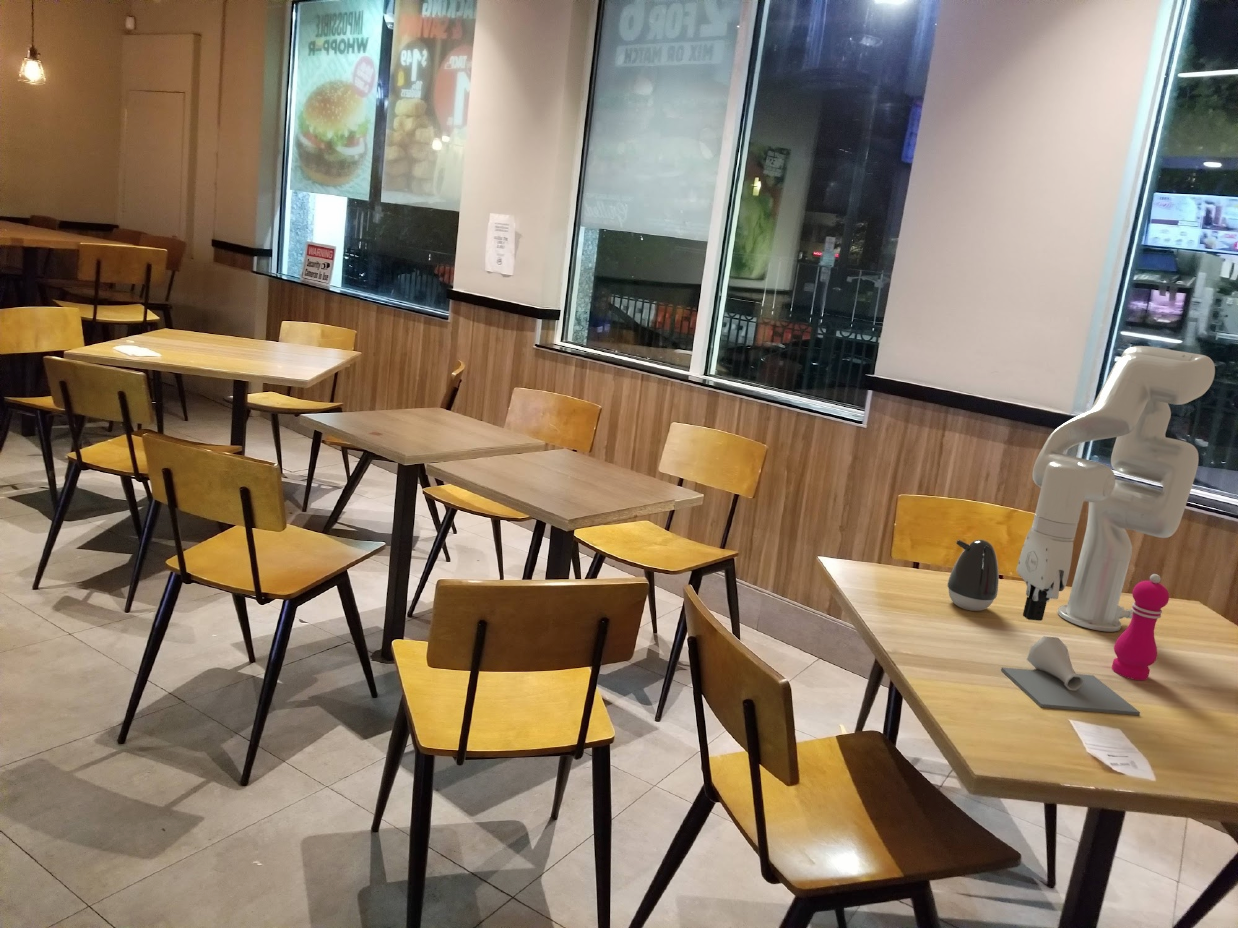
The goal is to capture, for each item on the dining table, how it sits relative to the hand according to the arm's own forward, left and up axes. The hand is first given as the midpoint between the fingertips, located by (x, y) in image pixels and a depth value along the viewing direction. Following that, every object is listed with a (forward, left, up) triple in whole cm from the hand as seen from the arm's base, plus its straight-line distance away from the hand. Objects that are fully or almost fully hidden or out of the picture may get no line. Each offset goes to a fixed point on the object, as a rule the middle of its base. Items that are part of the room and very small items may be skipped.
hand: (1032, 618), depth 182 cm
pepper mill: (-19, +5, -8) cm, 21 cm away
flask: (0, +7, -4) cm, 8 cm away
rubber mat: (0, +16, -7) cm, 18 cm away
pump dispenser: (0, -24, -8) cm, 25 cm away
